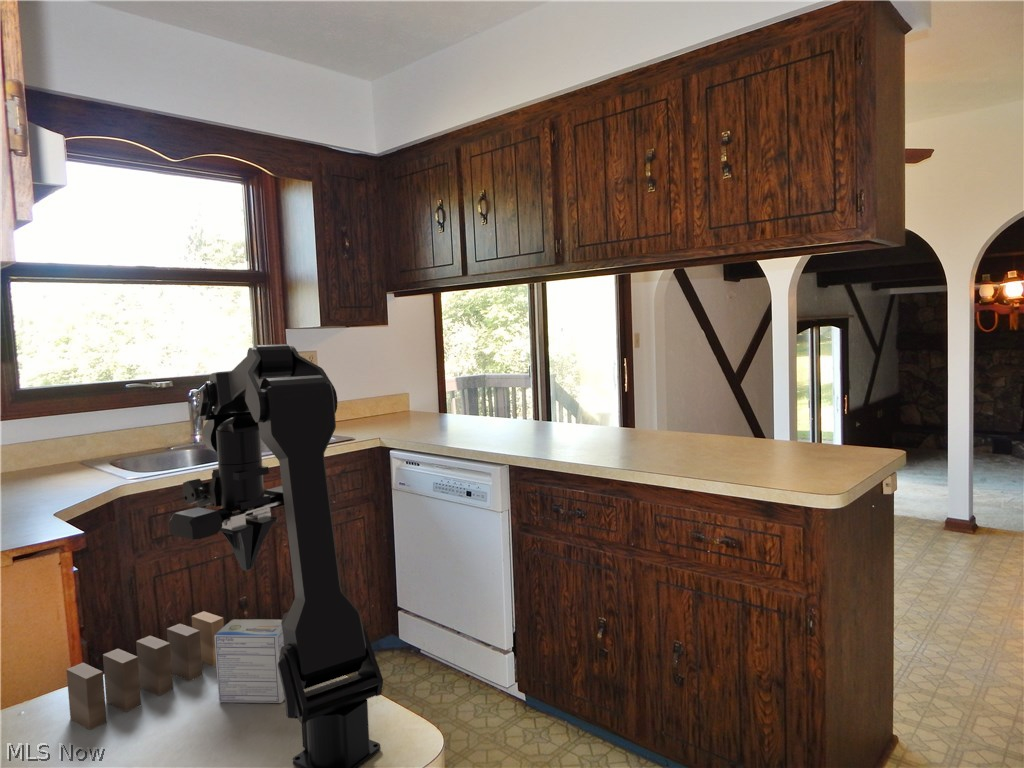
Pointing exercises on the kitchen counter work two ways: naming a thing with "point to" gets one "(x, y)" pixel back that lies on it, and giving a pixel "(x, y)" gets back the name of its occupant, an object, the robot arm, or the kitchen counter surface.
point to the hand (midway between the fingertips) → (246, 569)
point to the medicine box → (249, 661)
